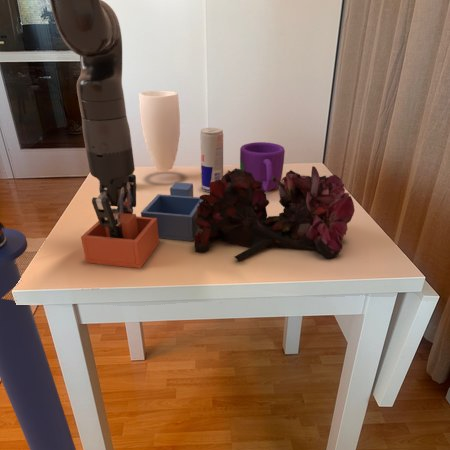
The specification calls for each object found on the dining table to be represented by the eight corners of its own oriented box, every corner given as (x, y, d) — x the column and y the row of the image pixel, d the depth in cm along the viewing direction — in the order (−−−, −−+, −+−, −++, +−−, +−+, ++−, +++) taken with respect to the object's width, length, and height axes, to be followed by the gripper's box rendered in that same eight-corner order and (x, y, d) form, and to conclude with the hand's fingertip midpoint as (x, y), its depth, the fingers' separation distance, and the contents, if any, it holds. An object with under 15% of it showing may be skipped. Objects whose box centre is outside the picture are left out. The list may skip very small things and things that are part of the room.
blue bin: (143, 236, 87) (140, 212, 84) (159, 216, 95) (157, 194, 92) (193, 241, 85) (191, 216, 82) (205, 220, 94) (204, 197, 91)
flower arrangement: (193, 262, 78) (190, 183, 69) (197, 219, 94) (194, 150, 86) (360, 261, 78) (377, 182, 70) (335, 218, 95) (346, 150, 86)
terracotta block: (107, 243, 78) (104, 221, 76) (117, 233, 82) (114, 212, 79) (130, 245, 78) (127, 223, 75) (138, 235, 81) (136, 213, 79)
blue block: (171, 206, 100) (169, 188, 98) (176, 199, 104) (175, 182, 102) (188, 207, 100) (188, 189, 97) (193, 200, 103) (192, 183, 101)
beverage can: (220, 185, 113) (220, 126, 104) (225, 192, 108) (225, 131, 100) (200, 186, 112) (198, 127, 103) (203, 194, 107) (202, 132, 99)
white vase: (185, 183, 114) (180, 96, 102) (146, 185, 112) (136, 97, 100) (182, 171, 122) (177, 89, 110) (146, 173, 121) (137, 90, 109)
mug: (236, 179, 117) (237, 142, 111) (276, 178, 118) (279, 141, 112) (246, 202, 102) (247, 161, 97) (291, 200, 104) (295, 159, 98)
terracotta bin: (86, 262, 78) (80, 236, 75) (110, 237, 86) (106, 213, 83) (140, 268, 76) (137, 242, 73) (159, 242, 85) (157, 218, 82)
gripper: (105, 134, 76) (119, 221, 86) (66, 155, 65) (87, 254, 74) (145, 135, 75) (154, 224, 85) (112, 158, 63) (127, 258, 73)
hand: (122, 237), depth 79 cm, fingers closed on terracotta block, 4 cm apart
